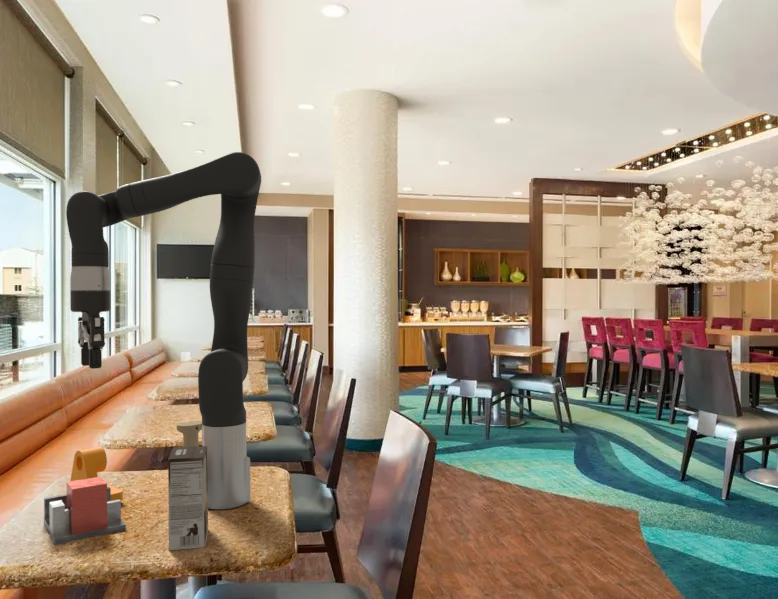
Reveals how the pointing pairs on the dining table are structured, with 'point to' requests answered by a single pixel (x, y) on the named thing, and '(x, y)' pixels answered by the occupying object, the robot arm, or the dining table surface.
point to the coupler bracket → (60, 519)
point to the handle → (190, 432)
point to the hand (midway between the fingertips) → (91, 366)
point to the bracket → (92, 467)
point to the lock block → (87, 503)
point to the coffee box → (188, 497)
